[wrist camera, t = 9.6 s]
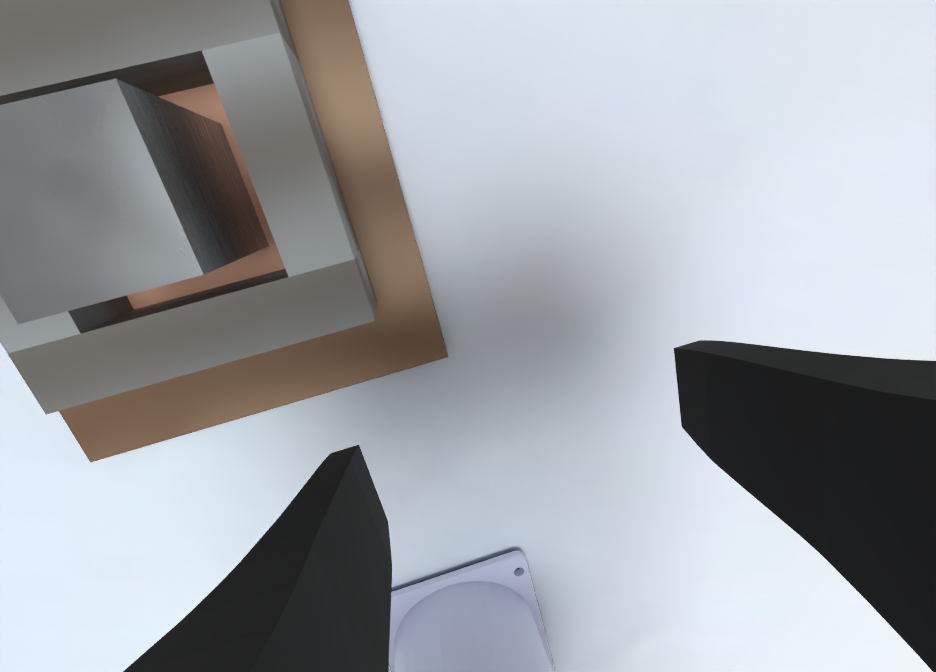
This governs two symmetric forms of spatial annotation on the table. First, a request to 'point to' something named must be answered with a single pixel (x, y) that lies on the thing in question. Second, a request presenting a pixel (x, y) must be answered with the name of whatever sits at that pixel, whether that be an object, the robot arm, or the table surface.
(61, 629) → the table surface
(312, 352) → the well board
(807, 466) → the robot arm
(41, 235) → the steel block
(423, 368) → the table surface
